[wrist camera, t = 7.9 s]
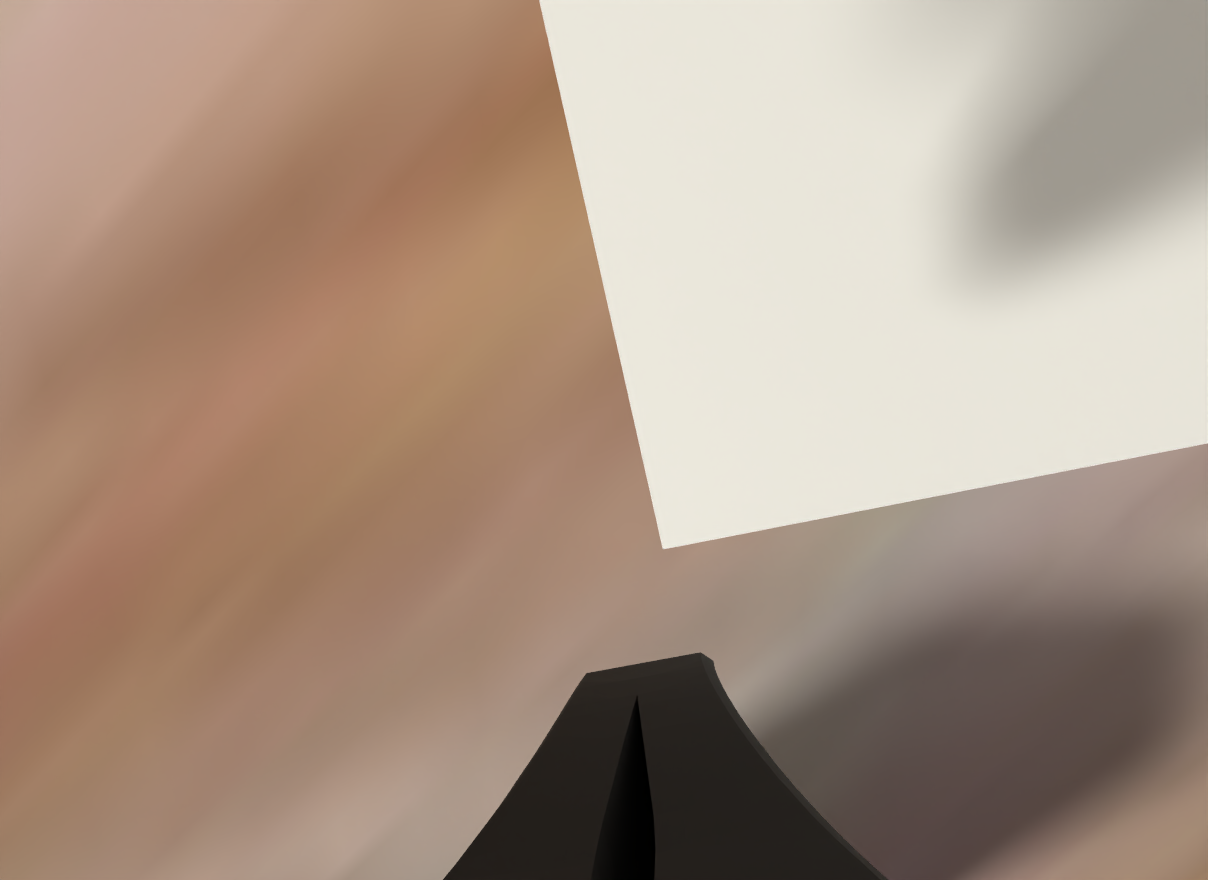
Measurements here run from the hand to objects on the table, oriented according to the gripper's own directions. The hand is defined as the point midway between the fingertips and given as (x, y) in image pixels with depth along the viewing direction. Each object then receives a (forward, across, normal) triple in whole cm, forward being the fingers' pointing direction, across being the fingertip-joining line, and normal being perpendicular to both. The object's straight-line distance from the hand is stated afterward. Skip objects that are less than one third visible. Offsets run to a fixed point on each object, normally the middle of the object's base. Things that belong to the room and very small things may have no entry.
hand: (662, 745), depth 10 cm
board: (+9, -6, -6) cm, 13 cm away
